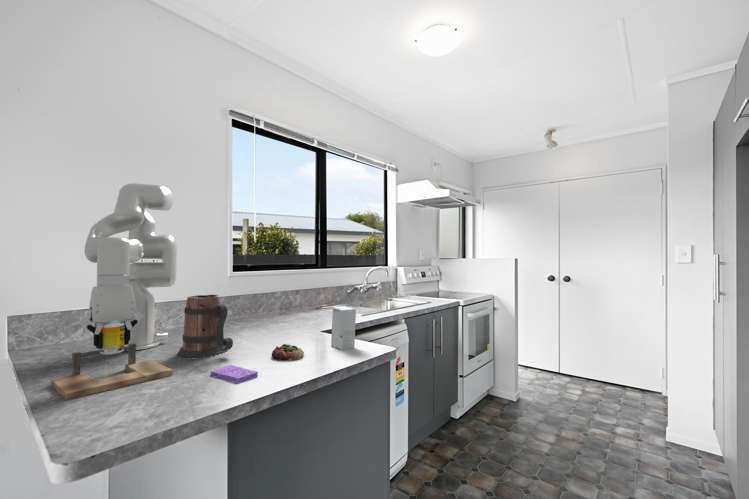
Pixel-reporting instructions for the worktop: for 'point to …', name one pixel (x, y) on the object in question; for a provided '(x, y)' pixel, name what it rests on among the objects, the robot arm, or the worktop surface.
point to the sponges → (234, 373)
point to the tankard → (204, 328)
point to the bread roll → (287, 353)
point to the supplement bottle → (112, 337)
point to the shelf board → (85, 385)
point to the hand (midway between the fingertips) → (112, 345)
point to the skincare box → (343, 327)
